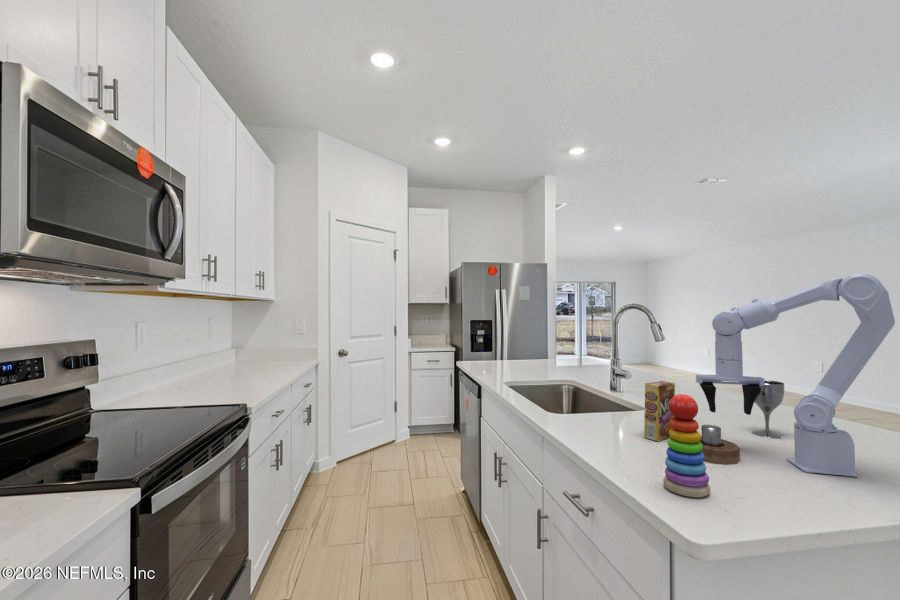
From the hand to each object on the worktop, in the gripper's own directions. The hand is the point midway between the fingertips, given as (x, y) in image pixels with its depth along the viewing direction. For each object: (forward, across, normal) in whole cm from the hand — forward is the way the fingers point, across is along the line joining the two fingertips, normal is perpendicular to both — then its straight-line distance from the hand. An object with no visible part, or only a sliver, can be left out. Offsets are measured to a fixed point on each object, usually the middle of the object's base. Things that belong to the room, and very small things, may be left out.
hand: (729, 412), depth 102 cm
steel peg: (+9, +6, +6) cm, 13 cm away
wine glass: (+10, -15, -18) cm, 25 cm away
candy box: (+10, +15, -6) cm, 19 cm away
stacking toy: (+10, +17, +29) cm, 35 cm away
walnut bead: (+9, +6, +6) cm, 13 cm away
